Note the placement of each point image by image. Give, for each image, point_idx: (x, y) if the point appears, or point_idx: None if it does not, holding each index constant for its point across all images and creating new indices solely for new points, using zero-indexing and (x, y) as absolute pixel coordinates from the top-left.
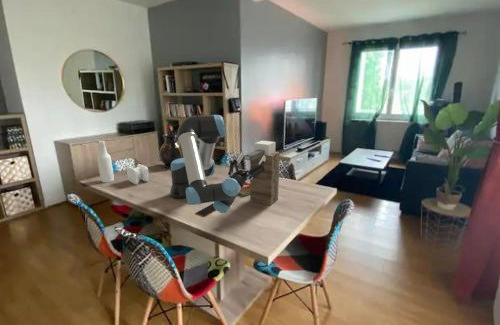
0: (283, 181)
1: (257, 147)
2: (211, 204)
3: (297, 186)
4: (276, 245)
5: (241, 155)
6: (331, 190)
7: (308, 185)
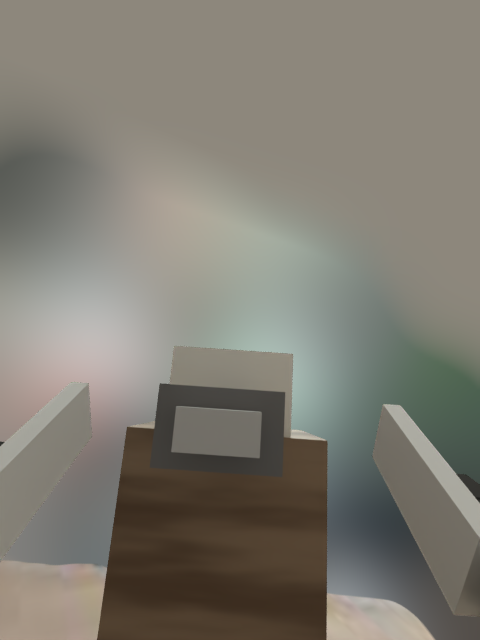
0: None
1: (197, 378)
2: None
3: None
4: None
5: (67, 418)
6: (408, 613)
7: None
